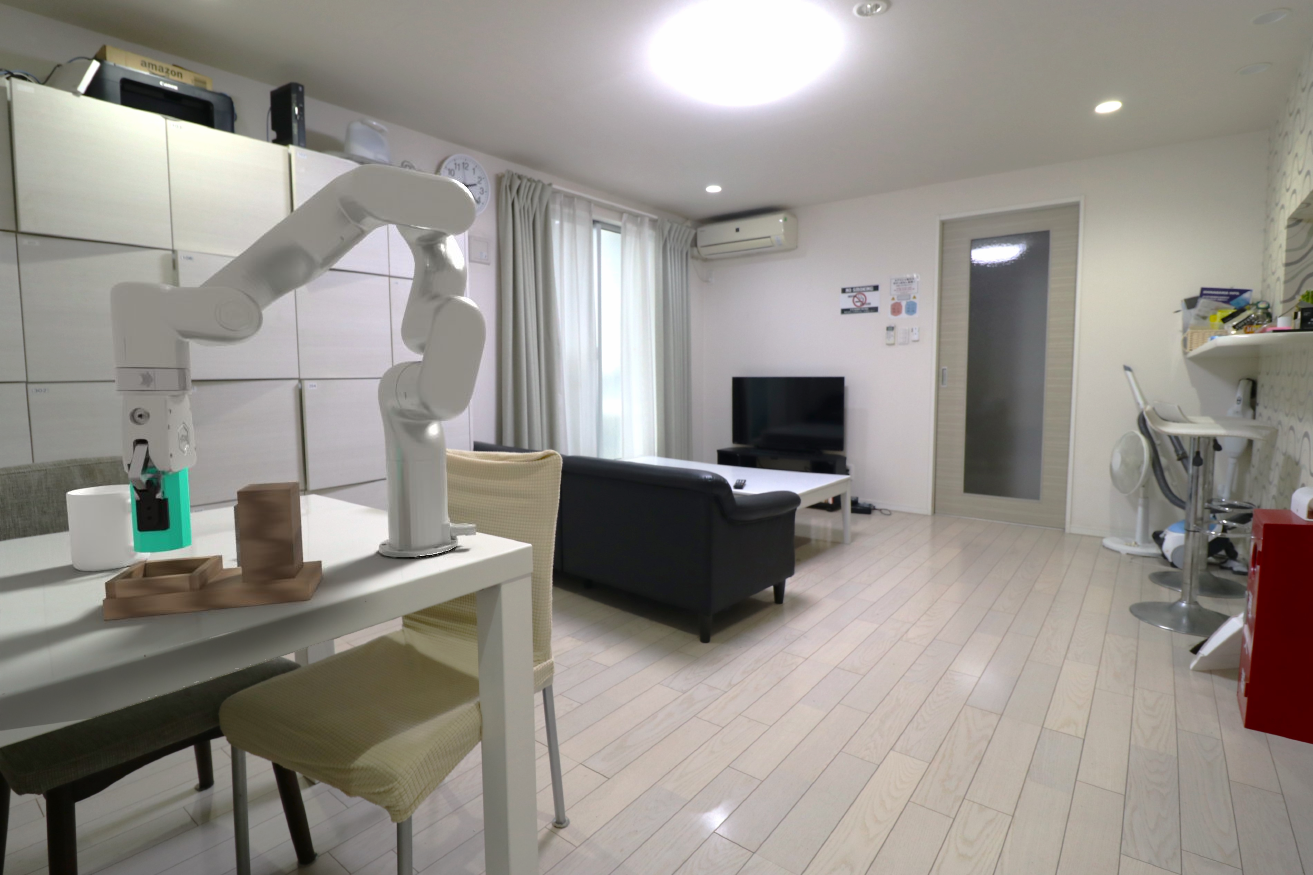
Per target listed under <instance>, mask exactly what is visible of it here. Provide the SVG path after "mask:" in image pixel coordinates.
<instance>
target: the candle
mask: <svg viewBox="0 0 1313 875" xmlns="http://www.w3.org/2000/svg"><path fill="white" fill-rule="evenodd" d="M146 473H158V469H147V471H146ZM164 475H165V496H164V498H168V502H169V519H170V528H169V529H167V530H165V531H147V532H139V531H138V530H137V517H136V501H135V499H134V488H133V485H132V483H131V482H130V481H129V485H130V496H131V511H132V527H133V542H134V551H135V552H140V553H151V554H153V553H154V554H155V553H161V552H162V553H163V552H171V551H175V550H180V549H181V550H182V549H185V548H186V547H190V546H192V544H193V539H192V538H193V536H192V521H191V520H192V519H191V504H190V502H191V501H190V500H191V499H190V488H189V487H190V486H189V469H188V468H187V467H186V468H184V469H183V470H181V471H180V472H178V473H175V474H166V473H165V471H164ZM148 480H150V479H148ZM152 480H153V482H154V483H155V485H156V481H157V479H152Z"/></svg>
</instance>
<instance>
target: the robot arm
mask: <svg viewBox="0 0 1313 875" xmlns="http://www.w3.org/2000/svg"><path fill="white" fill-rule="evenodd" d="M476 217H477V205H476V200H475V198H474V196H473V194H472V193H471V192H470V190H469V189H468V188H467V187H466V186H465V185H464V184H463V183H461V182H460V181H459V180H456V179H454V178H452V177H449V176H448V177H447V176H445V175H438V174H434V173H428V172H423V171H418V170H414V169H409V168H408V169H407V168H404V167H398V166H393V165H387V164H382V163H381V164H380V163H365V164H361V165H358V166H356V167H355V168H352V169H351V170H348V171H347V172H344V173H342V174H340V175H338V176H336V177H335V178H333V179H332V180H331V181H330V182H328V183H327V184H326V185H325V186H322V188H320V190H317V192H316V193H315V194H313V195H312V196H311V197H309V199H307V200H305V201H304V202H302V204H301V205H300V206H298V207H297V208H295V209H294V210H293V211H292V212H291V213H289V214H288V215H287V216H286V217H284V218H283V219H282V220H280V221H279V222H278V223H276V225H274V226H273V227H271V228H270V229H269V230H268V231H267V232H265V233H264V234H263V235H262V236H260V237H259V238H258V239H257V240H256V241H254V242H253V243H252V244H251V245H250V246H249V247H248V248H246V249H245V250H244V251H243V252H241V253H240V254H239V255H237V256H236V257H235V258H233V259H232V260H231V261H230V262H228V263H227V264H226V265H225V266H223V267H222V268H221V269H219V270H218V271H217V272H215V273H214V274H213V275H212V276H210V277H209V278H208V279H207V280H206V281H204V282H203V283H202V284H200V285H198V286H196V287H195V286H190V287H189V286H175V285H172V284H166V283H163V282H161V283H160V282H152V281H138V280H137V281H135V280H134V281H133V280H131V281H130V280H128V281H121V282H117V283H115V284H113V286H112V287H111V288H110V291H109V306H110V321H111V323H110V324H111V336H112V338H111V339H112V349H113V350H112V351H113V352H112V354H113V365H114V380H115V383H114V384H115V390H116V391H115V395H117V396H122V399H121V400H122V401H121V421H120V422H121V432H120V434H121V436H120V437H121V454H122V455H121V456H122V464H123V469H124V472H126V473H127V475H128V476H127V479H128V481H129V483H130V482H131V483H132V485H133V488H134V499H135V501H136V517H137V530H138V531H139V532H147V531H165V530H167V529H169V528H170V519H169V502H168V498H164V496H165V475H164V471H165V473H166V474H175V473H178V472H180V471H181V470H183V469H184V468H186V467H187V468H188V470H190V469H192V468H193V467H194V466H195V465H196V464H197V461H198V458H197V448H196V438H195V430H194V429H195V427H194V422H193V415H192V408H191V403H190V399H189V396H188V395H190V396H191V395H192V394H193V391H192V390H193V388H192V374H191V356H190V341H191V342H193V343H195V344H197V345H199V346H204V347H223V346H224V347H227V346H235V345H240V344H243V343H246V342H248V341H250V340H251V339H253V338H254V337H256V335H258V333H259V332H260V331H261V329H262V327H263V326H262V325H263V323H264V316H263V311H264V310H265V309H267V308H268V307H269V306H271V305H272V304H273V303H275V302H276V301H278V300H280V299H281V298H282V297H284V296H286V295H287V294H289V293H291V292H293V291H295V290H297V289H300V288H303V287H304V286H306V285H309V284H310V283H312V282H314V281H316V280H317V279H318V278H320V277H322V276H323V275H325V273H327V272H328V271H330V269H332V267H334V266H335V265H336V264H337V263H338V262H339V261H340V260H341V259H342V258H343V257H344V256H345V255H346V254H347V253H349V252H350V251H351V250H352V249H353V248H355V247H356V245H357V246H358V244H359V243H360V242H362V241H363V240H364V239H365V238H366V237H367V236H368V235H369V234H371V233H372V232H373V231H375V230H376V229H378V228H381V227H385V226H387V225H393V226H395V227H396V229H397V231H398V232H399V234H400V236H401V237H402V239H403V240H404V241H405V242H406V244H407V245H408V247H409V250H410V251H411V253H412V256H413V261H414V271H413V277H412V281H411V282H412V283H411V285H410V286H411V287H410V289H409V290H410V291H409V294H408V299H407V302H406V306H405V310H404V313H403V318H402V320H401V328H400V335H401V339H402V341H403V342H402V343H404V345H405V346H406V348H407V349H408V350H410V351H411V352H413V353H414V354H417V355H421V356H422V359H421V360H411V361H403V362H400V363H397V364H394V365H392V366H391V367H389V368H388V369H387V370H386V371H385V372H384V373H383V375H382V376H381V379H380V380H379V384H378V388H377V399H378V406H379V412H380V415H381V420H382V425H383V433H384V446H385V447H384V449H385V471H386V472H385V476H386V479H385V480H386V500H387V504H386V505H387V526H388V527H387V528H388V529H387V530H388V539H385V540H383V541H382V542H380V544H378V552H379V554H381V555H383V556H385V557H389V556H390V558H396V557H414V556H420V555H427V554H433V553H437V552H442V551H446V550H449V549H451V548H453V547H455V546H457V545H458V546H459V540H458V537H460V536H469V537H470V536H477V527H476V525H477V524H476V523H471V524H470V523H468V522H465V523H461V522H460V523H454V522H451V519H450V516H449V511H448V506H449V505H448V479H447V478H448V476H447V475H448V474H447V444H446V436H445V431H444V427H443V425H442V422H446V421H447V422H448V421H451V420H454V419H456V418H458V417H459V416H461V415H462V414H463V413H464V412H465V411H466V410H467V408H468V406H469V405H470V403H471V400H472V398H473V394H474V391H475V387H476V383H477V378H478V374H479V371H480V370H479V369H480V366H481V360H482V357H483V353H484V349H485V344H486V338H487V327H486V326H487V325H486V322H485V321H486V320H485V317H484V314H483V313H482V311H481V309H480V308H479V306H478V305H477V304H476V302H474V301H473V300H471V299H470V298H467V297H465V292H466V287H467V280H468V267H467V263H466V260H465V258H464V255H463V252H462V251H461V248H459V245H458V243H457V242H456V240H455V238H454V237H456V236H459V235H462V234H463V233H465V232H467V231H469V229H471V227H473V225H474V222H475V220H476ZM147 469H158V473H146V471H147ZM148 479H150V480H148ZM152 479H157V481H156V485H155V483H154V482H153V480H152ZM458 546H457V547H458Z"/></svg>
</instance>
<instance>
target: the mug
mask: <svg viewBox="0 0 1313 875" xmlns="http://www.w3.org/2000/svg"><path fill="white" fill-rule="evenodd" d="M65 497H66V498H65V499H66V510H67V521H68V533H69V544H70V556H71V563H72V566H73V568H75V569H76V570H78V571H82V572H101V570H102V571H103V570H104V571H111V570H117V569H116V568H118V569H122V567H124V568H128V567H131V566H132V565H134V564H136V563H137V562H139V561H148V559H149V558H150V557H151V554H152V553H140V552H135V551H134V542H133V527H132V511H131V496H130V484H115V485H114V484H111V485H101V486H92V487H84V488H78V489H73V490H70V491H67V492H66V493H65ZM127 566H128V567H127ZM104 571H103V572H104Z"/></svg>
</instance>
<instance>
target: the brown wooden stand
mask: <svg viewBox="0 0 1313 875" xmlns="http://www.w3.org/2000/svg"><path fill="white" fill-rule="evenodd" d="M300 491H301V488H300V481H291V482H287V481H286V482H267V483H265V482H264V483H263V482H262V483H250V484H247V485H246V486H244V487H242V488H241V489H238V490H237V491H236V497H237V499H236V500H237V504H235V505H233V516H234V517H233V519H234V535H235V537H234V538H235V550H236V551H235V552H236V565H237V567H226V568H224V564H223V555H222V554H216V555H204V556H193V557H192V556H189V557H177V558H165V559H153V560H152V559H151V560H150V559H149V560H146V561H139V562H137V563H136V564H134V565H133V566H128V567H127V568H126V569H125V570H123V571H122V572H119V573H118V574H117V575H115V576H113V577H112V578H110V579H109V580H107V581H106V582H104V589H105V598H103V599H102V608H103V611H102V612H103V621H108V620H109V621H110V620H117V619H118V620H120V619H132V618H141V617H149V616H159V615H160V616H162V615H170V614H181V613H191V612H200V611H209V610H221V609H222V610H223V609H231V608H238V607H249V606H261V605H262V606H263V605H272V604H279V603H280V604H281V603H288V602H289V603H291V602H298V601H299V602H302V601H310V600H311V598H312V596H313V595H314V593H315V592H316V589H317V588H318V586H319V584H320V582H321V580H322V579H323V561H322V560H313V561H304V549H303V533H302V532H303V529H302V511H301V508H302V507H301V493H300Z"/></svg>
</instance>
